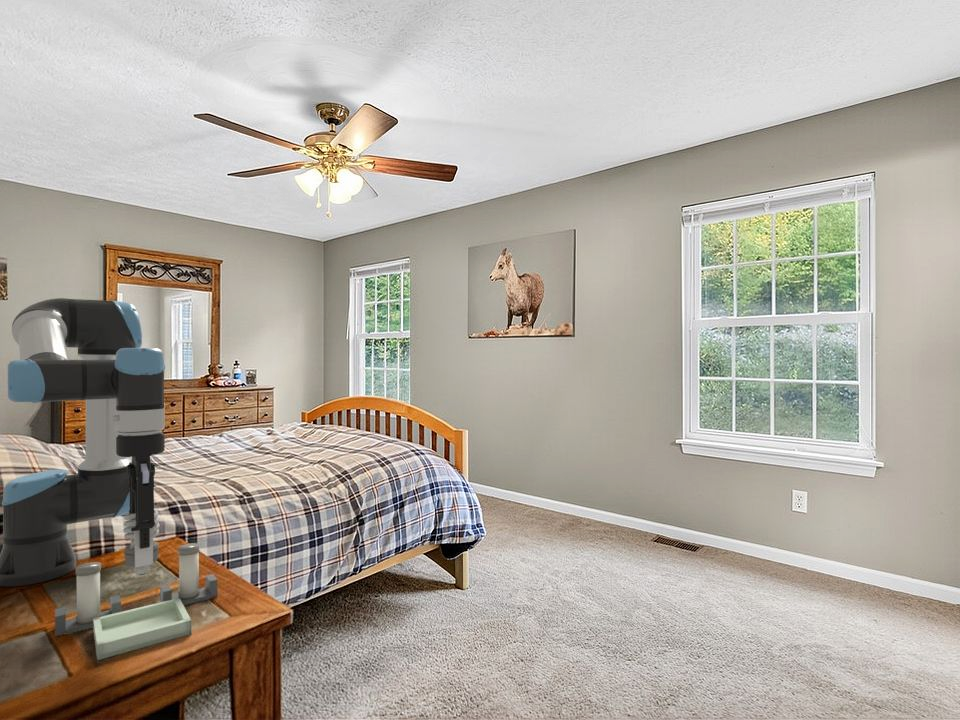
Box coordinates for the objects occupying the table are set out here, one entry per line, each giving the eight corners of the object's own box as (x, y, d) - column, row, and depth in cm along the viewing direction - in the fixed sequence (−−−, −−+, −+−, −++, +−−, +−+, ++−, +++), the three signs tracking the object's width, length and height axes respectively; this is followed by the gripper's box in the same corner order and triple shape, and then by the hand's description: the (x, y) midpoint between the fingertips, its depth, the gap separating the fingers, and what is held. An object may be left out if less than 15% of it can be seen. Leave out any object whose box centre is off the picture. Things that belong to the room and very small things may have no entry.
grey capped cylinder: (176, 594, 114) (176, 545, 114) (197, 589, 117) (197, 542, 117) (180, 601, 111) (179, 550, 111) (201, 596, 113) (201, 546, 114)
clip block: (55, 626, 102) (55, 608, 102) (212, 589, 119) (212, 573, 119) (55, 637, 98) (55, 617, 98) (218, 596, 115) (217, 580, 115)
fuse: (75, 618, 104) (75, 565, 104) (100, 612, 106) (100, 560, 106) (76, 626, 101) (75, 571, 101) (101, 620, 103) (101, 566, 103)
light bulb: (142, 582, 97) (142, 514, 96) (115, 579, 98) (115, 512, 97) (167, 569, 102) (166, 505, 102) (141, 567, 103) (140, 503, 103)
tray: (93, 632, 100) (93, 618, 100) (179, 610, 109) (179, 597, 109) (97, 660, 91) (97, 645, 91) (191, 633, 99) (191, 620, 99)
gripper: (111, 429, 105) (112, 551, 105) (121, 439, 90) (122, 581, 90) (157, 426, 109) (157, 543, 109) (172, 435, 95) (173, 570, 95)
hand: (141, 560), depth 100 cm, fingers closed on light bulb, 6 cm apart
